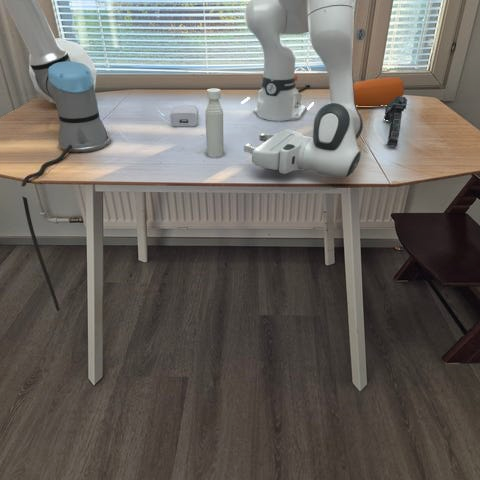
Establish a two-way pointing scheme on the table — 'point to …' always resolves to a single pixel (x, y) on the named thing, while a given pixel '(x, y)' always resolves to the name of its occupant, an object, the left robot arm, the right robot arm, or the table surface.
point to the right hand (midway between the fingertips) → (252, 141)
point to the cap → (213, 93)
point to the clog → (377, 91)
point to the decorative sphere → (76, 56)
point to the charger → (184, 116)
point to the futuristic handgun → (395, 118)
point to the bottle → (214, 128)
